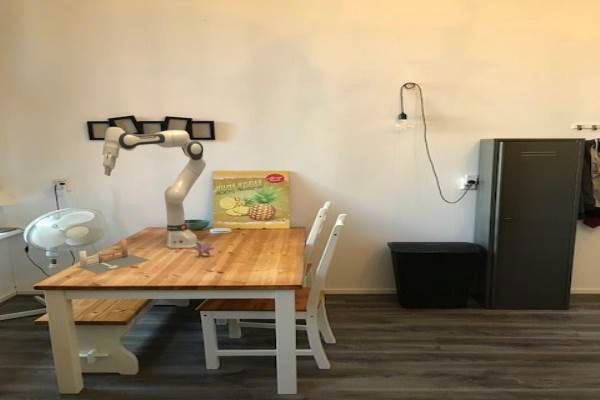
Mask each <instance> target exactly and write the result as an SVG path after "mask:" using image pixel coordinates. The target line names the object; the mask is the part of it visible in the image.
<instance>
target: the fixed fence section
mask: <svg viewBox="0 0 600 400" xmlns="http://www.w3.org/2000/svg"><path fill="white" fill-rule="evenodd" d="M78 253H79V254H78V255H79V264H80V266H81V269H83V267H87V265H88V264H92V263H97V262H99V263H103V256H102V254H103V253H99V254H96V255H91V256H87V250H80V251H78ZM93 259H95V260H93ZM89 260H90V261H89Z"/></svg>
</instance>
